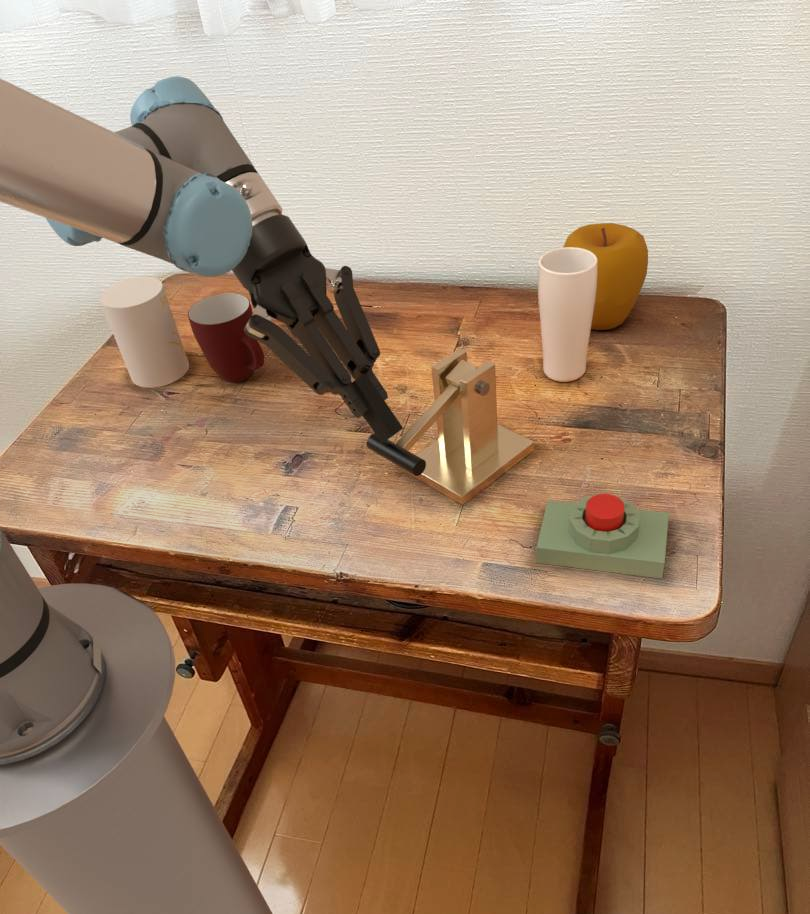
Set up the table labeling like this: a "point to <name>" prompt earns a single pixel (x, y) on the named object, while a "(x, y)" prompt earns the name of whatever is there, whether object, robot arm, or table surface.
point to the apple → (613, 269)
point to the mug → (226, 335)
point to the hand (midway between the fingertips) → (392, 435)
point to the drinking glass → (566, 310)
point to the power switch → (469, 435)
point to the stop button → (604, 512)
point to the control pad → (603, 540)
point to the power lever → (421, 425)
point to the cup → (145, 331)
